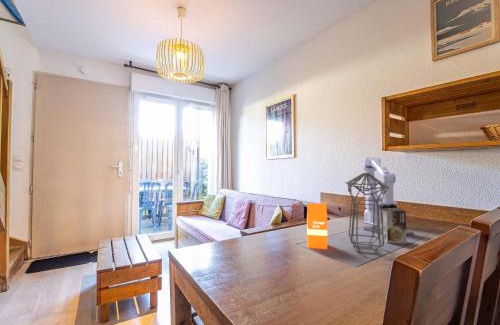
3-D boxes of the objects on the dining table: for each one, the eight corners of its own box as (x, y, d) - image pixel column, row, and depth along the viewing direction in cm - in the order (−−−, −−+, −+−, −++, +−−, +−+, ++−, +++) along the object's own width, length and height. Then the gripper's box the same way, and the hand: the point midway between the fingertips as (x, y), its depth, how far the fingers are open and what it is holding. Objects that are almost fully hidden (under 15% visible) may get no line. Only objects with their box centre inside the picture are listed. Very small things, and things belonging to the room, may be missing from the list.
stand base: (363, 229, 141) (363, 221, 141) (383, 226, 149) (383, 218, 149) (393, 237, 125) (393, 228, 125) (413, 233, 133) (413, 225, 133)
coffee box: (399, 239, 122) (399, 208, 122) (406, 244, 115) (406, 210, 115) (381, 239, 123) (381, 208, 123) (387, 243, 116) (386, 210, 116)
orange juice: (327, 249, 108) (327, 205, 108) (307, 247, 110) (307, 204, 110) (325, 243, 116) (325, 202, 116) (306, 242, 117) (306, 201, 118)
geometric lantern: (379, 246, 112) (380, 172, 112) (389, 259, 97) (391, 174, 96) (343, 242, 116) (345, 171, 116) (348, 255, 101) (349, 173, 101)
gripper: (386, 195, 131) (386, 220, 131) (402, 194, 137) (402, 218, 137) (374, 194, 137) (374, 217, 137) (390, 193, 143) (390, 215, 143)
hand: (387, 217), depth 137 cm, fingers closed on column, 4 cm apart
